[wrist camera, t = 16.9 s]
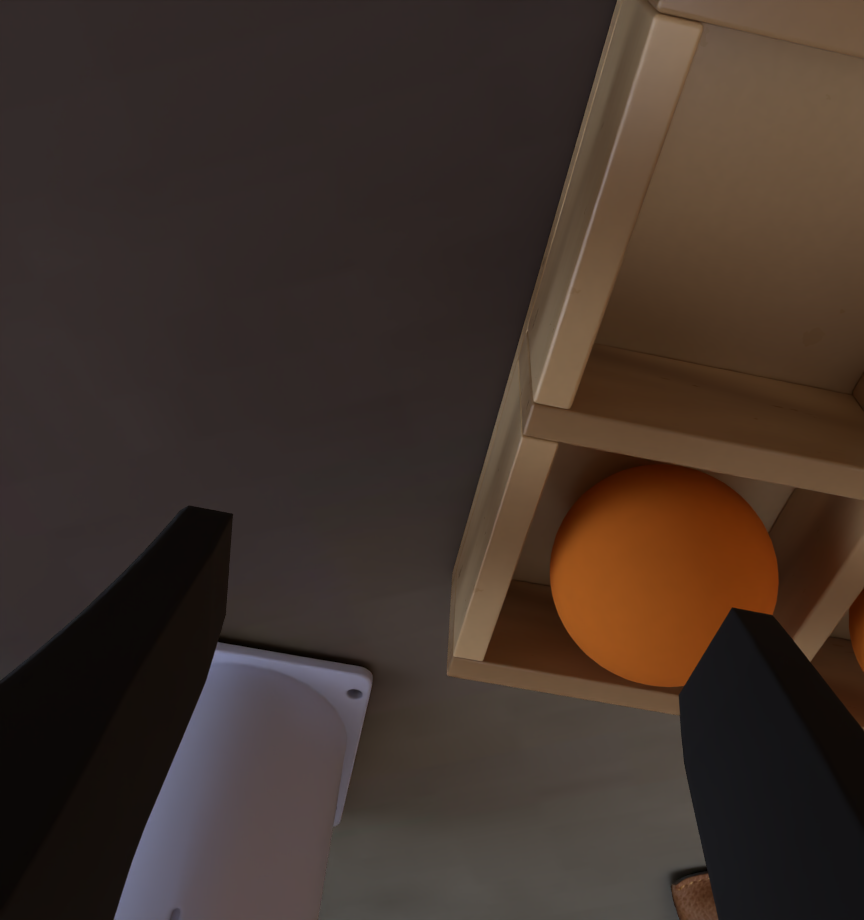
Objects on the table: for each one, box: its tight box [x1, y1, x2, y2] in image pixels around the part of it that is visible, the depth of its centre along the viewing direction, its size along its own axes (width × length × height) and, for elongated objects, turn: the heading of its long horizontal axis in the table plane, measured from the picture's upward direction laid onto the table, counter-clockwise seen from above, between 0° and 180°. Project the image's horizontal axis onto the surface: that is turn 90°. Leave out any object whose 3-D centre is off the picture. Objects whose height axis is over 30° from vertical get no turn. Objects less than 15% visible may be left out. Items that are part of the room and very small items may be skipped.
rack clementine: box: [550, 464, 779, 687], centre depth 20 cm, size 5×5×5 cm
